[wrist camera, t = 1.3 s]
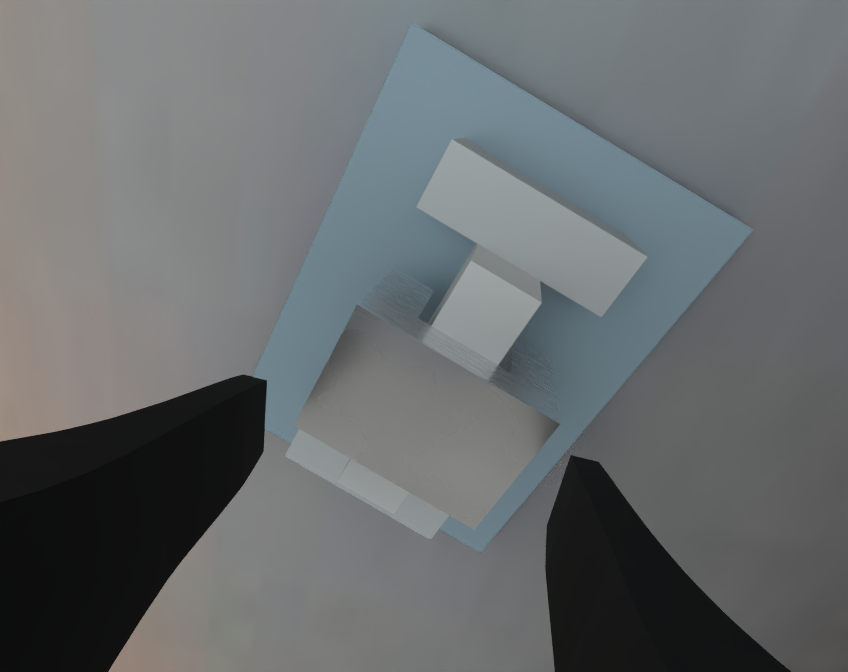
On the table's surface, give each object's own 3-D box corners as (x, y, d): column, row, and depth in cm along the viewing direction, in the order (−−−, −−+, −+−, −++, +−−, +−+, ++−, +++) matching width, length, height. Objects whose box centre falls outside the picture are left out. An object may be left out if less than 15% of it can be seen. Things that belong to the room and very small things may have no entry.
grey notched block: (552, 361, 16) (560, 424, 12) (484, 451, 17) (474, 529, 14) (394, 267, 15) (356, 304, 12) (340, 367, 17) (293, 425, 14)
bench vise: (739, 223, 17) (847, 270, 11) (482, 532, 23) (467, 662, 17) (419, 29, 16) (362, -25, 11) (250, 398, 23) (158, 486, 17)
